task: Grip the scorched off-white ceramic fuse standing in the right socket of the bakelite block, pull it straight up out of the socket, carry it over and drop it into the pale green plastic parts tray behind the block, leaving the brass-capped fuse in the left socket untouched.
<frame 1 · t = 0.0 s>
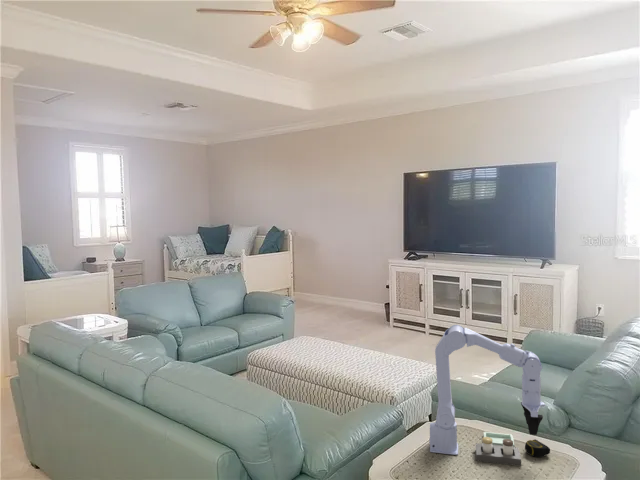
hand: (531, 429, 162), 10 cm above the table, fingers open, 7 cm apart
parts tray: (498, 442, 175), on the table
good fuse: (487, 456, 165), resting in socket block
socket block: (497, 457, 164), on the table
tape measure: (536, 453, 166), on the table
blown fuse: (508, 458, 163), resting in socket block
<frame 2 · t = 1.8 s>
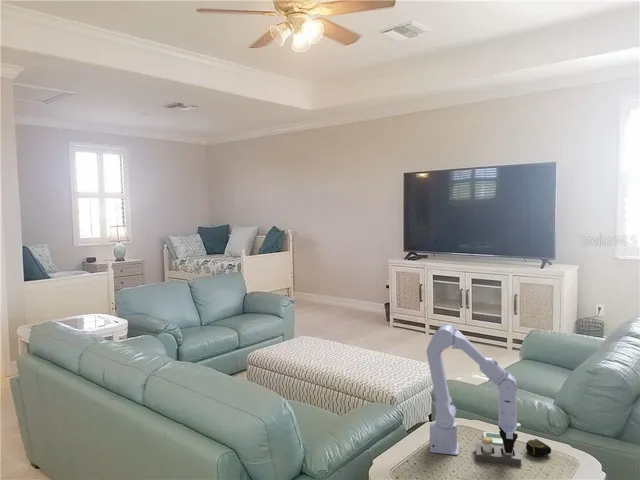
hand: (508, 449, 163), 3 cm above the table, fingers closed on blown fuse, 3 cm apart
blown fuse: (508, 458, 163), resting in socket block, touching gripper
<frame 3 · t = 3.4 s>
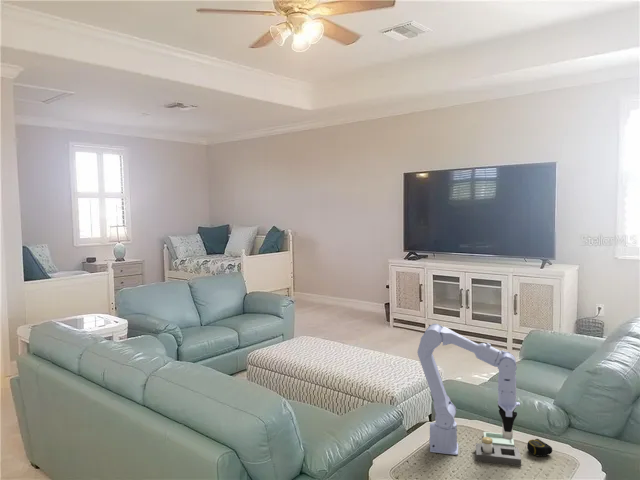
hand: (507, 428, 163), 10 cm above the table, fingers closed on blown fuse, 3 cm apart
blown fuse: (507, 437, 163), point 7 cm above the table, touching gripper
when the fingers open (5 cm above the table, at t = 4.9 s): blown fuse drops 1 cm, resting on parts tray.
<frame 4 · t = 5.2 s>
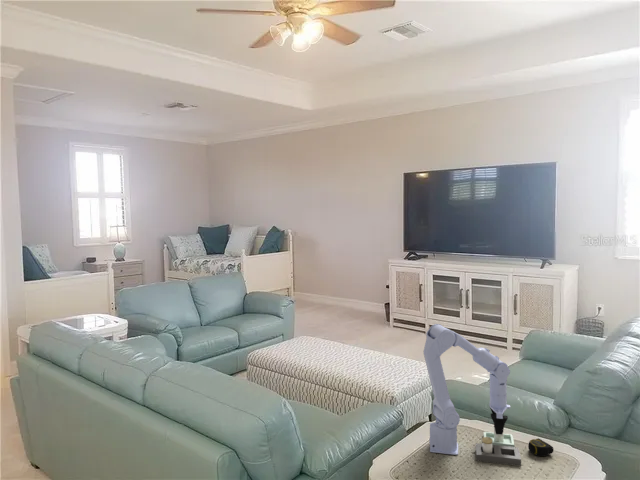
hand: (498, 429, 174), 5 cm above the table, fingers open, 6 cm apart
blown fuse: (498, 441, 174), point 1 cm above the table, touching parts tray
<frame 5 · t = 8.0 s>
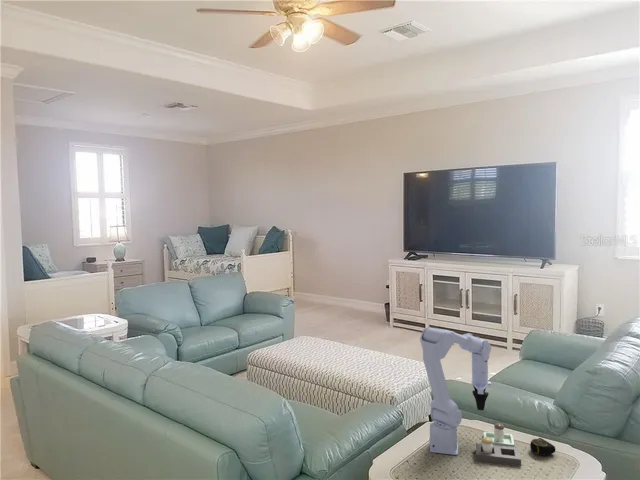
hand: (480, 405, 182), 10 cm above the table, fingers open, 7 cm apart
at the end: blown fuse inside the target area on the parts tray (0.1 cm from its centre), point 0.5 cm above the parts tray's base; the gripper is holding nothing; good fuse moved 0.0 cm from its start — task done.
